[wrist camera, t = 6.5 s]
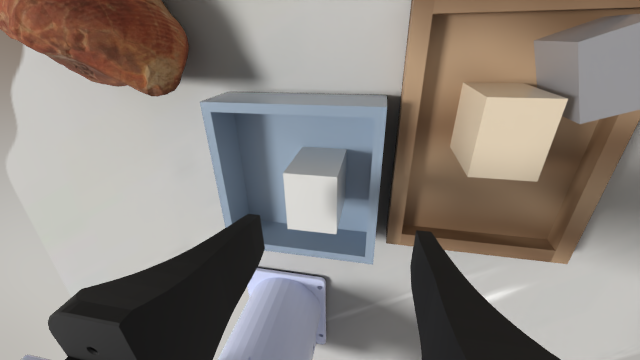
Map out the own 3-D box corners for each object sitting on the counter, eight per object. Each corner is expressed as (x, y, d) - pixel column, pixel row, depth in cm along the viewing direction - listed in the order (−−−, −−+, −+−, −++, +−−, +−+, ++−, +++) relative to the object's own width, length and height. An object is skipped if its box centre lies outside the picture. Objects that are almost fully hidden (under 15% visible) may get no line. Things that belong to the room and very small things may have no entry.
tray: (554, 247, 21) (567, 264, 19) (386, 229, 23) (386, 243, 21) (675, -17, 13) (710, -23, 12) (412, -5, 16) (415, -9, 14)
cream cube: (503, 149, 18) (537, 181, 14) (450, 146, 18) (467, 176, 15) (523, 83, 16) (568, 98, 12) (463, 82, 17) (486, 97, 13)
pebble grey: (345, 198, 22) (336, 234, 18) (304, 194, 22) (287, 228, 18) (346, 149, 20) (337, 177, 16) (302, 146, 20) (283, 173, 17)
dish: (374, 234, 23) (372, 264, 20) (247, 220, 25) (229, 245, 22) (386, 95, 18) (387, 107, 15) (227, 91, 20) (199, 102, 17)
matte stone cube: (602, 87, 15) (666, 103, 12) (538, 105, 16) (580, 124, 13) (603, 16, 14) (675, 10, 11) (533, 40, 15) (578, 42, 12)
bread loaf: (219, 61, 16) (-42, 92, 10) (199, 133, 23) (36, 177, 17) (121, -113, 17) (-164, -175, 11) (130, 5, 24) (-46, 5, 18)
